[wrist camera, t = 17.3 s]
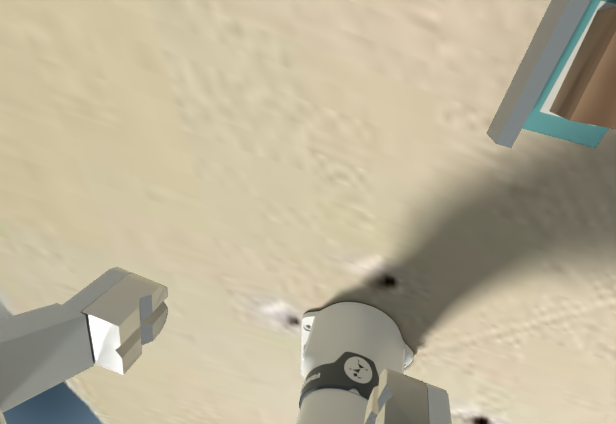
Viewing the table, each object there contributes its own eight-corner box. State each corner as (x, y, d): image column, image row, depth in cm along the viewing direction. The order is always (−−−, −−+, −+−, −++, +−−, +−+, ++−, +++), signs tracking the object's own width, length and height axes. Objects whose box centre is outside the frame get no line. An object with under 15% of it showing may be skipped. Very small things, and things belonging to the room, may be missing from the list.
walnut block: (653, 17, 29) (695, 13, 25) (596, 119, 34) (624, 130, 29) (597, 10, 30) (628, 4, 26) (549, 111, 34) (569, 120, 30)
